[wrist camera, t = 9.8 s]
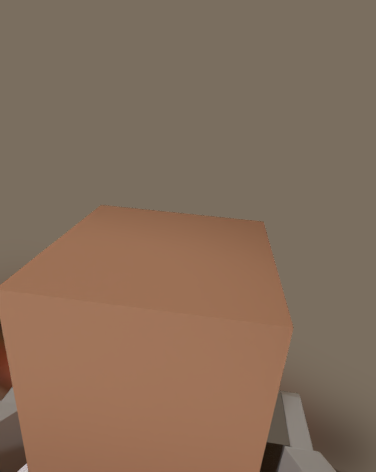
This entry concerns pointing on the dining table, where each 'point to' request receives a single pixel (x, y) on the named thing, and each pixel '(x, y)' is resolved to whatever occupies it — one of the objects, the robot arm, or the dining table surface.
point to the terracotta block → (147, 344)
